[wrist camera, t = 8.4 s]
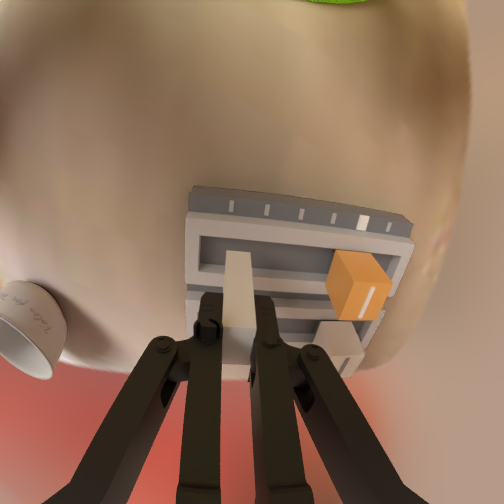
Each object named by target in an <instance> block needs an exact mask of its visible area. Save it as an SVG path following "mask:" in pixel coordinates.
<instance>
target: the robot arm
mask: <svg viewBox="0 0 504 504" xmlns="http://www.w3.org/2000/svg"><path fill="white" fill-rule="evenodd" d="M193 333H194V335H193V336H192V337H191V338H189V339H187V340H183V341H177V342H176V341H175V340H174V339H172V338H170V337H168V336H158V337H156V338H154V339H153V340H152V341H151V342H150V343H149V344H148V346H147V348H146V349H145V351H144V353H143V354H142V356H141V357H140V359H139V361H138V362H137V364H136V366H135V367H134V369H133V371H132V372H131V374H130V376H129V377H128V379H127V381H126V382H125V384H124V386H123V387H122V389H121V391H120V392H119V394H118V396H117V398H116V399H115V401H114V403H113V405H112V406H111V408H110V410H109V411H108V413H107V415H106V417H105V418H104V420H103V422H102V424H101V425H100V427H99V429H98V431H97V433H96V434H95V436H94V438H93V440H92V442H91V444H90V446H89V447H88V449H87V451H86V453H85V455H84V456H83V458H82V460H81V462H80V464H79V466H78V468H77V470H76V472H75V473H74V476H73V477H72V479H71V481H70V483H69V484H67V485H66V486H65V487H63V488H62V489H61V490H60V491H58V492H57V493H56V494H54V495H53V496H52V497H50V498H49V499H48V500H46V501H45V502H44V503H42V504H126V503H127V501H128V499H129V497H130V495H131V492H132V490H133V488H134V485H135V483H136V481H137V478H138V476H139V474H140V472H141V469H142V467H143V465H144V462H145V460H146V458H147V456H148V454H149V451H150V449H151V447H152V445H153V442H154V440H155V438H156V435H157V433H158V431H159V429H160V427H161V424H162V422H163V420H164V418H165V416H166V413H167V411H168V409H169V407H170V404H171V402H172V400H173V397H174V395H175V393H176V391H177V389H178V387H179V385H180V382H181V381H187V380H188V386H187V395H186V405H185V414H184V424H183V435H182V447H181V459H180V474H179V483H178V486H177V493H176V504H221V489H220V415H221V414H220V413H221V371H222V364H239V365H249V364H250V365H251V368H250V373H249V378H248V382H250V397H251V418H252V435H253V436H252V437H253V454H254V455H253V456H254V473H255V491H256V498H255V504H314V498H313V492H312V489H311V487H310V485H308V483H307V482H306V479H305V473H304V466H303V460H302V452H301V446H300V439H299V432H298V426H297V419H296V413H295V407H294V401H295V403H296V405H297V408H298V410H299V412H300V414H301V416H302V418H303V421H304V423H305V425H306V427H307V429H308V431H309V434H310V436H311V438H312V440H313V442H314V444H315V446H316V448H317V450H318V453H319V455H320V457H321V459H322V461H323V463H324V465H325V467H326V469H327V471H328V474H329V476H330V478H331V480H332V482H333V484H334V486H335V488H336V490H337V492H338V494H339V496H340V498H341V500H342V502H343V504H429V503H427V502H426V501H424V500H423V499H422V498H421V497H420V496H418V495H417V494H416V493H414V492H413V491H412V490H410V489H409V488H408V487H406V486H405V485H404V484H403V482H402V481H401V479H400V477H399V475H398V474H397V472H396V470H395V468H394V467H393V465H392V463H391V461H390V460H389V458H388V456H387V454H386V453H385V451H384V449H383V448H382V446H381V444H380V442H379V441H378V439H377V437H376V436H375V434H374V432H373V431H372V429H371V427H370V425H369V424H368V422H367V420H366V418H365V417H364V415H363V413H362V412H361V410H360V408H359V407H358V405H357V403H356V401H355V400H354V398H353V397H352V395H351V393H350V391H349V390H348V388H347V386H346V385H345V383H344V382H343V380H342V378H341V376H340V375H339V373H338V371H337V370H336V368H335V366H334V365H333V363H332V361H331V359H330V358H329V356H328V354H327V353H326V351H325V350H324V349H323V348H322V347H320V346H319V345H315V344H307V345H304V346H303V347H302V348H297V347H293V346H290V345H288V344H286V343H285V342H284V341H283V339H282V338H281V337H280V335H279V329H278V323H277V317H276V311H275V305H274V301H273V300H272V299H271V297H270V296H266V295H254V290H253V278H252V266H251V253H250V252H241V251H229V250H227V251H226V262H225V273H224V285H223V293H216V292H205V293H204V294H203V295H202V297H201V300H200V307H199V313H198V320H196V321H195V323H194V325H193ZM293 399H294V401H293Z"/></svg>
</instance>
